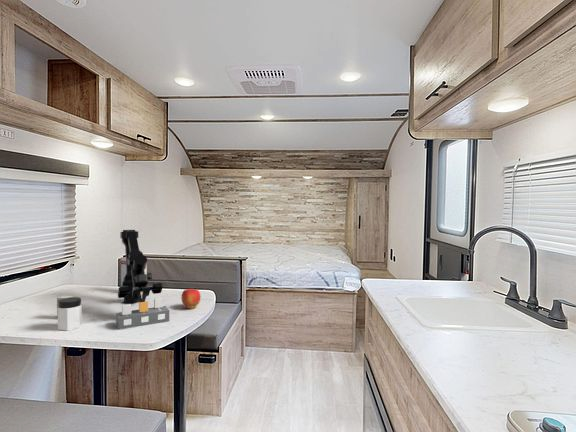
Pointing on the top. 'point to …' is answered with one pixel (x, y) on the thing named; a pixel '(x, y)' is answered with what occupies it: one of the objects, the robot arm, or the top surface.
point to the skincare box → (60, 299)
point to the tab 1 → (126, 309)
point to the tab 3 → (158, 302)
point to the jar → (69, 313)
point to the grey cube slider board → (142, 317)
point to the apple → (190, 298)
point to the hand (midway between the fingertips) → (143, 306)
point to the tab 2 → (143, 306)
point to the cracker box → (123, 270)
